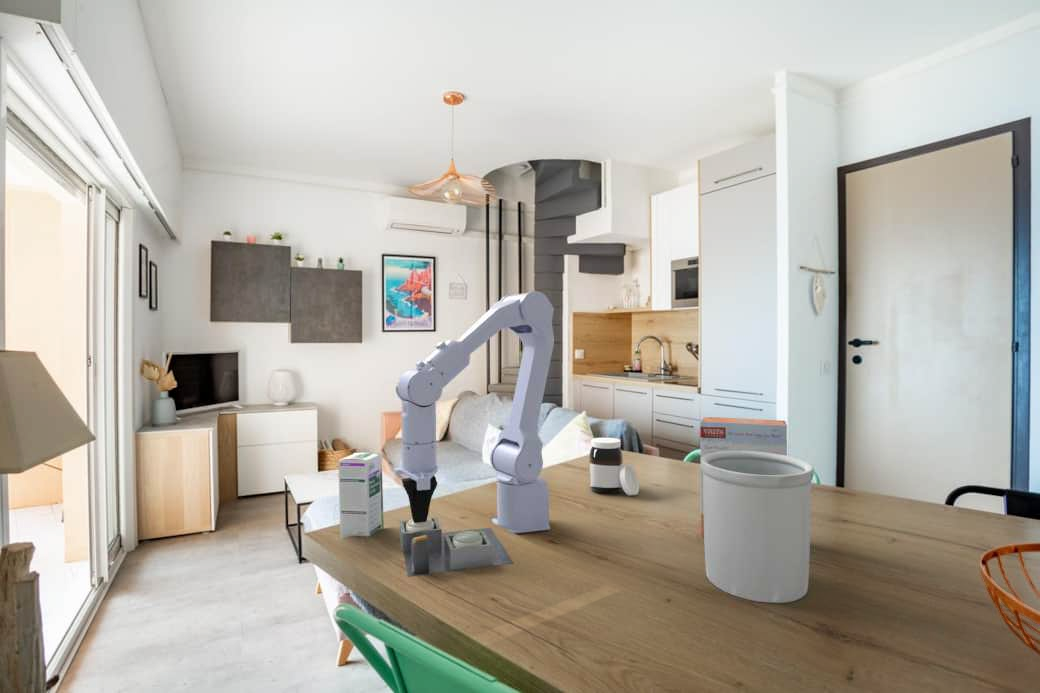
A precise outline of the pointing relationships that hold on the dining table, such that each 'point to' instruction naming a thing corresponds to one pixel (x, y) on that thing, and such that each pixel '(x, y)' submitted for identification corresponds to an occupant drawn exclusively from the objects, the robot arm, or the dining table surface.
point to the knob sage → (467, 539)
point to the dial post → (420, 554)
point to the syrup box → (360, 494)
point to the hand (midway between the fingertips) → (419, 521)
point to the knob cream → (419, 525)
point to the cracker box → (740, 439)
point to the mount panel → (453, 550)
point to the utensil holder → (757, 524)
